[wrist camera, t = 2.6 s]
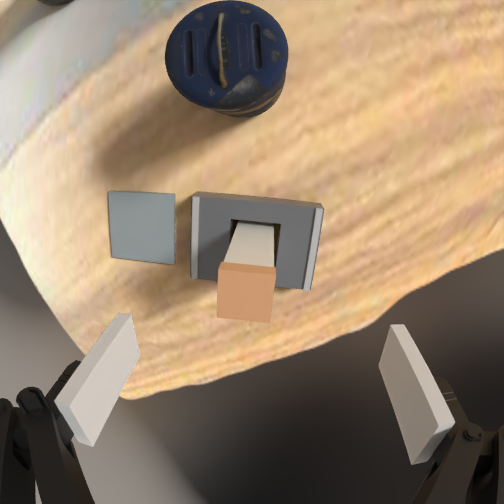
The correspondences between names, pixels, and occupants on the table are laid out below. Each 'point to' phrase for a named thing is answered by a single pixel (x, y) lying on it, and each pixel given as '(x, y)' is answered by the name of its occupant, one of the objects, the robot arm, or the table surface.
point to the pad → (142, 226)
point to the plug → (248, 274)
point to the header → (261, 210)
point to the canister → (228, 58)
